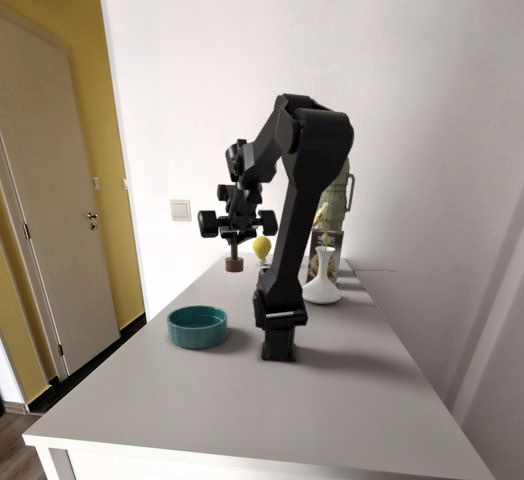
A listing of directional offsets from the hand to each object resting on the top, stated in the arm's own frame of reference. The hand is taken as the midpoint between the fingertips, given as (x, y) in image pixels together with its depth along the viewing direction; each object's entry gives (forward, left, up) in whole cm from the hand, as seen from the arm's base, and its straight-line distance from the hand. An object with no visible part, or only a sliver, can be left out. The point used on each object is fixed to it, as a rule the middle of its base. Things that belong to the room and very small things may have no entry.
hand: (232, 243), depth 87 cm
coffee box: (+12, -26, -14) cm, 31 cm away
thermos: (+26, -28, -14) cm, 40 cm away
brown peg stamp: (-1, -1, -7) cm, 7 cm away
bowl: (-27, +3, -14) cm, 30 cm away
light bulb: (+32, -6, -14) cm, 35 cm away
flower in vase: (-2, -24, -14) cm, 27 cm away
